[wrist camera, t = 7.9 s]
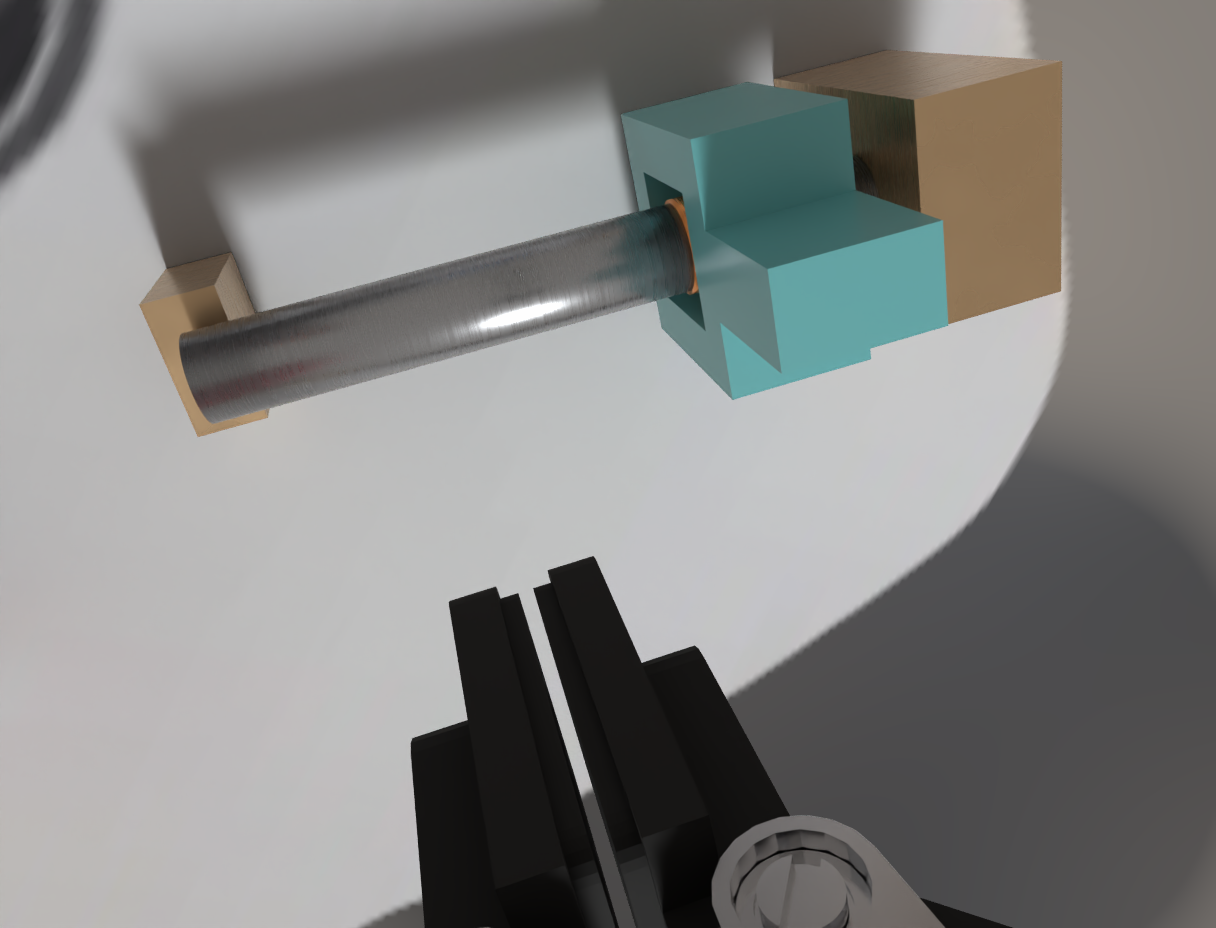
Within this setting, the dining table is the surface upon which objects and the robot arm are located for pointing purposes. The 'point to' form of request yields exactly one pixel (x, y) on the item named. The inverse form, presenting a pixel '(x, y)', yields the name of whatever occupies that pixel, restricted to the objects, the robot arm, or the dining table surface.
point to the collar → (782, 237)
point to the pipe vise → (649, 246)
